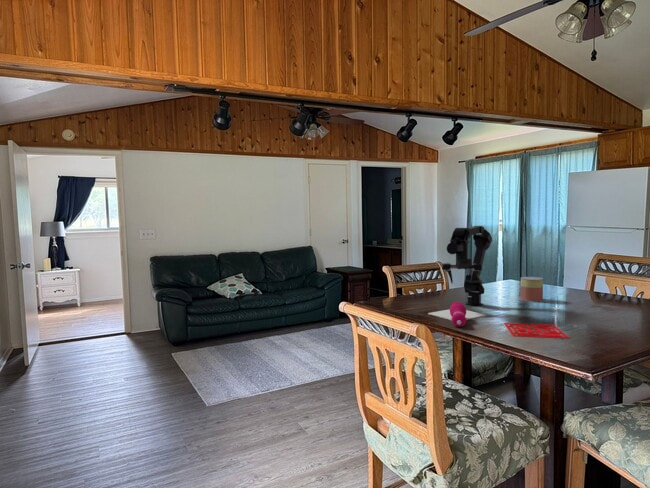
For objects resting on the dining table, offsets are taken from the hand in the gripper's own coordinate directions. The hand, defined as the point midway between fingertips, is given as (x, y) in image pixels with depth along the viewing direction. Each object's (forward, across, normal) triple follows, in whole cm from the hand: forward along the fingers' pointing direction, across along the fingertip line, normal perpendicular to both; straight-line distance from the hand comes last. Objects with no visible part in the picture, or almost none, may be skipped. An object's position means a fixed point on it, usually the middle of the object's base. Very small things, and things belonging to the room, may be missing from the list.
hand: (461, 283), depth 217 cm
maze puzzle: (+14, +27, -35) cm, 46 cm away
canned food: (+13, +38, +31) cm, 51 cm away
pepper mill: (+9, -3, -18) cm, 20 cm away
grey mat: (+13, -3, -13) cm, 18 cm away
